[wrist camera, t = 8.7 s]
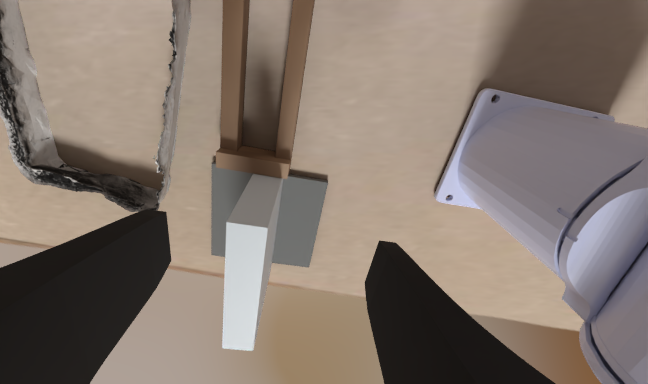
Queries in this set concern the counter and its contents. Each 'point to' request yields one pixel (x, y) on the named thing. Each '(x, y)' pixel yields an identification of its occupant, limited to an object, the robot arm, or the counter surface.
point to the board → (249, 259)
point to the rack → (234, 87)
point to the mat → (293, 218)
